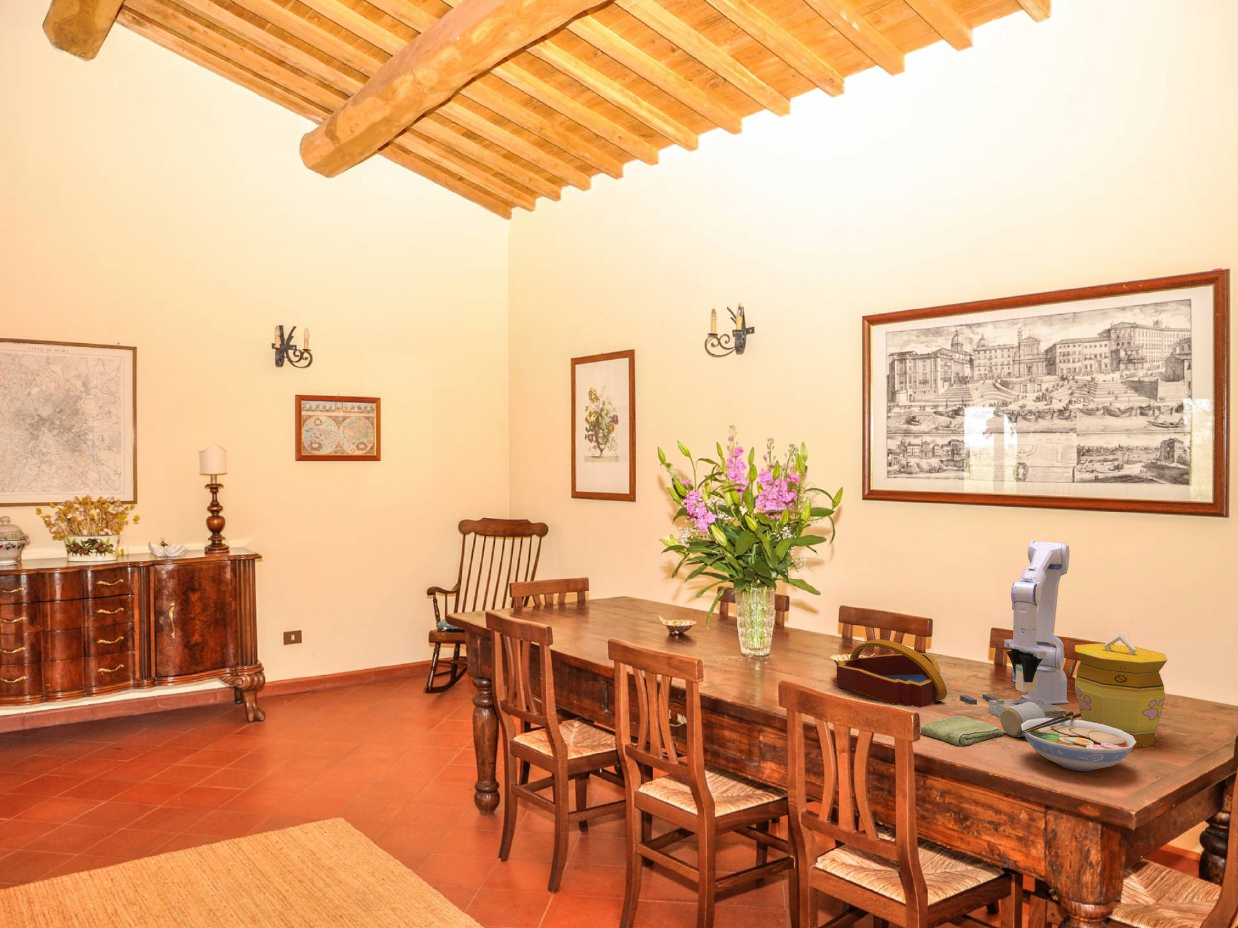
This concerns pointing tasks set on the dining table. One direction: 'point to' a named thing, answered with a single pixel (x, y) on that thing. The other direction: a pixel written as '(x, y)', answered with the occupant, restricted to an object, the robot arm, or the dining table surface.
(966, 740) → the washcloth
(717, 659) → the dining table surface
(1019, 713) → the grey cylinder
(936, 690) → the decorative basket
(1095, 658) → the container
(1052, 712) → the port
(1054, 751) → the ramen bowl
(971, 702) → the pair of dark blocks
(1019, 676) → the small white carton
